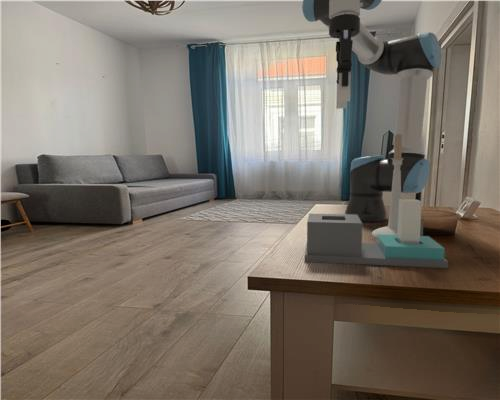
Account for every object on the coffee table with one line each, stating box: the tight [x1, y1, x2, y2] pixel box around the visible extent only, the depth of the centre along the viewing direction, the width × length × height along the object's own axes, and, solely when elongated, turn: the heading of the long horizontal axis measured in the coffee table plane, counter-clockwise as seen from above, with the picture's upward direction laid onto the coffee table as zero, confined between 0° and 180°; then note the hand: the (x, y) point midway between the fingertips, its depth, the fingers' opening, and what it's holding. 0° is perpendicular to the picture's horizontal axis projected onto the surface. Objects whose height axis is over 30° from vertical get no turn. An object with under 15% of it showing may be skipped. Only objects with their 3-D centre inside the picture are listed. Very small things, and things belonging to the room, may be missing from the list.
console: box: [304, 213, 449, 269], centre depth 86 cm, size 30×14×9 cm, turn 79°
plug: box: [397, 198, 425, 244], centre depth 84 cm, size 5×4×12 cm
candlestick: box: [371, 133, 404, 239], centre depth 105 cm, size 13×13×30 cm
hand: (342, 105), depth 94 cm, fingers open, 13 cm apart
